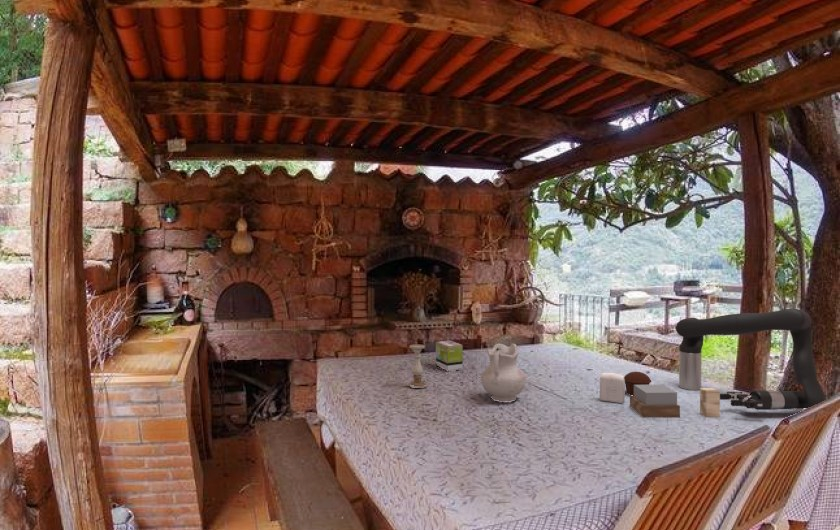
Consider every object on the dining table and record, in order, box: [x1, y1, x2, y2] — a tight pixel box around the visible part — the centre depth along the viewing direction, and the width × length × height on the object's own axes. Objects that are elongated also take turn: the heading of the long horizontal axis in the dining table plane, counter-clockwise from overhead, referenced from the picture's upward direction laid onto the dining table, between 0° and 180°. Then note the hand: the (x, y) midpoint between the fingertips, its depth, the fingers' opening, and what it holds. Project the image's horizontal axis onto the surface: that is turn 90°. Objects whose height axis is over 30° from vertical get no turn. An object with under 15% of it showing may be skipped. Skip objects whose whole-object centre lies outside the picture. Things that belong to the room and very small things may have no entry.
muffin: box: [624, 371, 652, 396], centre depth 227 cm, size 12×11×10 cm
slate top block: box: [634, 384, 678, 405], centre depth 202 cm, size 12×12×5 cm
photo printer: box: [599, 372, 626, 404], centre depth 216 cm, size 10×4×12 cm, turn 61°
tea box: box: [435, 340, 464, 370], centre depth 281 cm, size 15×10×15 cm
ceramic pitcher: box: [480, 342, 526, 401], centre depth 220 cm, size 22×20×25 cm
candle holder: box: [409, 343, 426, 386], centre depth 243 cm, size 9×9×20 cm
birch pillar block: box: [699, 387, 721, 418], centre depth 197 cm, size 5×5×10 cm
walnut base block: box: [629, 395, 681, 418], centre depth 202 cm, size 14×14×5 cm
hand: (724, 399), depth 197 cm, fingers open, 8 cm apart
